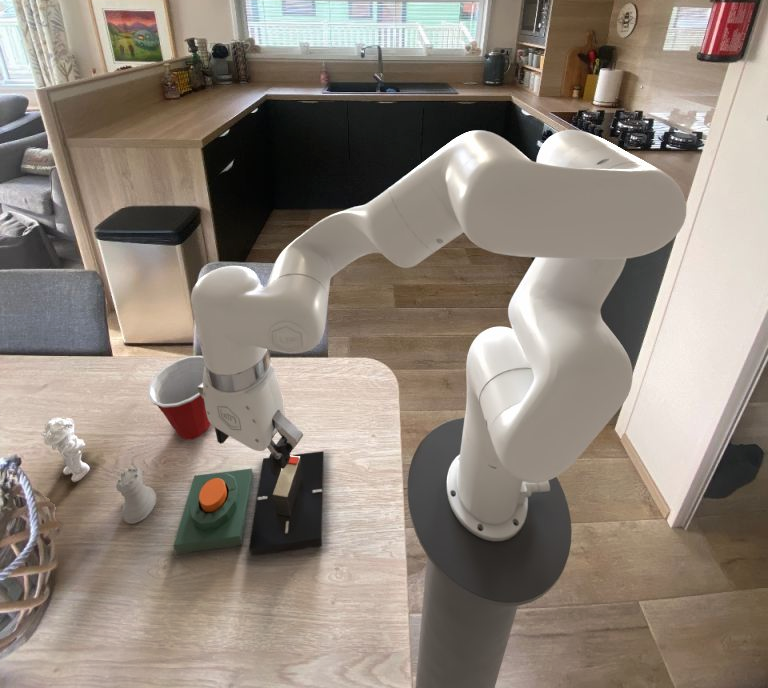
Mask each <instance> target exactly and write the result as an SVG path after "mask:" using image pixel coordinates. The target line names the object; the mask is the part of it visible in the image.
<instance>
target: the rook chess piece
mask: <svg viewBox="0 0 768 688" xmlns="http://www.w3.org/2000/svg"><path fill="white" fill-rule="evenodd" d="M120 475H121V476H119V477H118V478H117V481H116V485H115V486H116V491H118V492H119V493H120V494H121V496H122V497H124V501H123V505H122V509H121V512H122V516H123V517H122V518H123V520H124V521H125V522H126V523H127V524H136V523H139V522H141V521H143V520H144V519H146V518H147V517H148V516H149V515H150V514H151V512H152V511H153V510H154V508H155V505H156V503H157V495H156V492H155V491H154V489H153V488H152V487H151V486H147V485H145V484H144V483H143V482H144V479H143V472H142V469H141V468H140V467H136V466H134V467H133V466H128V467H127V470H126V471H125V470H123V471H122V472H121V473H120Z"/></svg>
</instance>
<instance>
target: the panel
mask: <svg viewBox="0 0 768 688" xmlns="http://www.w3.org/2000/svg"><path fill="white" fill-rule="evenodd" d="M290 455H291V456H297V457H300V461H301V469H302V480H301V483H300V487H299V490H298V493H297V496H296V500H295V503H294V506H293V510H292V513H291V516H290V517H288V516H283V515H277V514H276V510H275V504H274V498H273V492H274V489H275V487H276V484H277V481H278V478H279V475H280V473H281V470H282V469H281V470H280V472H279V473H278V475H277V476H276V477H275V476H273V475H272V473H271V466H270V459H269V457H263V458H262V465H261V470H260V477H259V482H258V489H257V496H256V502H255V509H254V515H253V519H252V520H253V521H252V527H251V534H250V539H249V546H248V551H249V555H250V557H258V556H264V555H271V554H277V553H284V552H291V551H298V550H304V549H311V548H319V547H323V534H324V533H323V532H324V531H323V530H324V490H325V489H324V486H325V485H324V484H325V481H324V480H325V452H324V450H322V451H321V450H320V451H313V452H305V453H297V454H296V453H295V454H290Z"/></svg>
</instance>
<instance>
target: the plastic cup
mask: <svg viewBox="0 0 768 688" xmlns="http://www.w3.org/2000/svg"><path fill="white" fill-rule="evenodd" d="M204 368H205V365H204V359H203V355H189V356H186V357H183V358H180V359H176V360H175V361H173V362H171V363H170V364H168V365H166V366H165V367H163V368H162V369H161V370H160V371H159V372H157V373H156V374H155V376H154V377H153V378H152V380H151V381H150V383H149V385H148V388H147V397H148V398H149V400H150V401H151V403H152V404H153V405H155V406H157V407H158V409H159V410H160V412H162V414H163V415H164V416H165V418H166V419H167V422H168V423H169V424H170V426H171V427H172V428H173V430H175V432H176V434H177V435H178V437H180V438H181V439H183V440H185V441H190V440H194V439H197V438H199V437H201V436H202V435H203V434H205V433H206V432H207V431H208V429H209V428H210V426H211V423H210V422H209V421H208V418H207V414H206V409H205V406H204V403H203V401H204V398H202V396H201V395H200V393H199V391H198V390H197V387H198V386H199V385H200V384H201V383H202V382H203V373H204Z"/></svg>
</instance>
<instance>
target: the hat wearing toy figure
mask: <svg viewBox="0 0 768 688" xmlns="http://www.w3.org/2000/svg"><path fill="white" fill-rule="evenodd" d="M75 425H76V424H75V421H74V420H73V419H72V418H70V417H67V418H64V419H63V418H61V417H53V418H50V419H49V420H48V421H47V422H46V423H45V424H44V430H43V431H41V436H42V437H44V438H43V443H44V445H46V446H51V449H52V451H54V450H56V449H57V451H58V452H59V453H60V456H61V457H62V459H63V464H64V465H66V466H65V467H64V468H63V470H62V473H63V474H64V475H65V476H68V475H70V474H71V475H72V476H71V478H70V479H71V481H72V482H73V483H77V482H78V481H79V482H80V480H82V479H83V478H84V477H85V476H86V475H87V474H88V473H89V472H90V466H89V465H88V464H87V463H86V462H83V461H82V454H83V451H84V447H85V446H86V443H85V442H84V440H83V439H82V438H80V439H79V437H78V436H77V435H75Z"/></svg>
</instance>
